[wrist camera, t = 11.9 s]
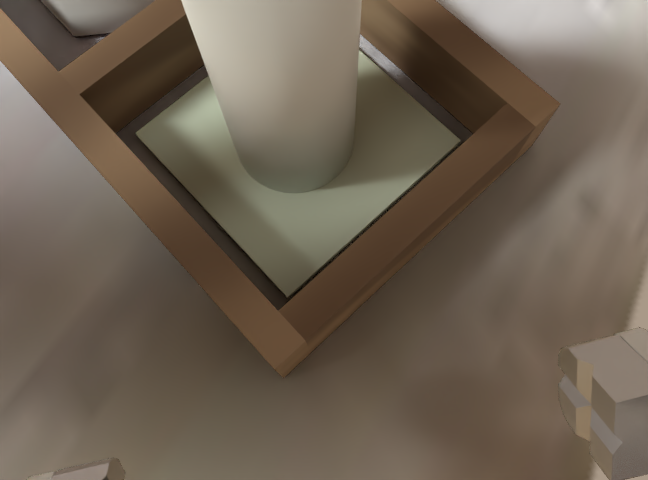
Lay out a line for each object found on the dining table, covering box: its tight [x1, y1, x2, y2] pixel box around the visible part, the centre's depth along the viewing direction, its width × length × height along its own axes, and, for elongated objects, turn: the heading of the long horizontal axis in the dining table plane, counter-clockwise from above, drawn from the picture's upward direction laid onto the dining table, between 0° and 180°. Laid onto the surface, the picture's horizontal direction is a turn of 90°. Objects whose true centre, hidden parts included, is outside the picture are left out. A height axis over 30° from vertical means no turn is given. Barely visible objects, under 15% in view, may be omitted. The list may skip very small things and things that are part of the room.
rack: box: [0, 0, 560, 378], centre depth 22 cm, size 24×12×3 cm, turn 43°
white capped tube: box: [181, 0, 362, 193], centre depth 16 cm, size 4×4×12 cm
